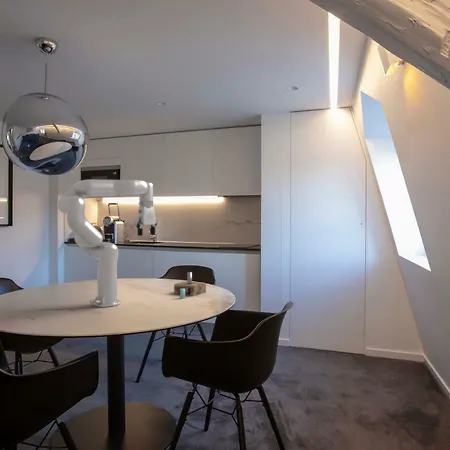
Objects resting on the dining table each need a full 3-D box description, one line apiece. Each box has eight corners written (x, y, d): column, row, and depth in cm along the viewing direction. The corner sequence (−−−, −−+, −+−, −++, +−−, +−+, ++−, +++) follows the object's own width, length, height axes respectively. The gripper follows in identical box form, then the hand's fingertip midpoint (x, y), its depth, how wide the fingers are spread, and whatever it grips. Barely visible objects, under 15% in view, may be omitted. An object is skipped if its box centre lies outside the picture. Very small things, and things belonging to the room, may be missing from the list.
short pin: (183, 298, 195) (183, 289, 195) (179, 298, 197) (179, 289, 197) (186, 297, 197) (186, 288, 197) (182, 297, 199) (182, 288, 199)
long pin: (190, 293, 209) (190, 273, 209) (186, 293, 210) (186, 272, 210) (192, 292, 211) (192, 272, 211) (189, 292, 212) (189, 272, 212)
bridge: (193, 296, 202) (193, 286, 202) (174, 293, 209) (174, 284, 209) (205, 292, 212) (205, 283, 212) (187, 290, 220) (187, 281, 219)
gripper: (139, 203, 192) (140, 236, 192) (161, 205, 206) (162, 234, 207) (129, 204, 196) (130, 235, 196) (152, 205, 210) (152, 234, 211)
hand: (146, 235), depth 201 cm, fingers open, 9 cm apart
